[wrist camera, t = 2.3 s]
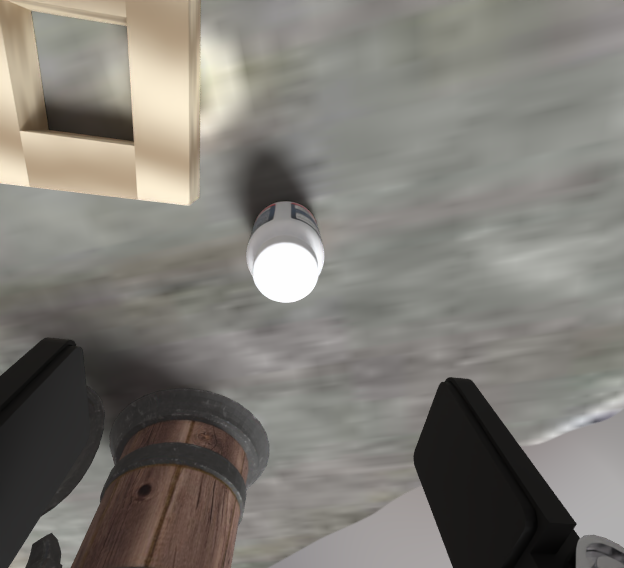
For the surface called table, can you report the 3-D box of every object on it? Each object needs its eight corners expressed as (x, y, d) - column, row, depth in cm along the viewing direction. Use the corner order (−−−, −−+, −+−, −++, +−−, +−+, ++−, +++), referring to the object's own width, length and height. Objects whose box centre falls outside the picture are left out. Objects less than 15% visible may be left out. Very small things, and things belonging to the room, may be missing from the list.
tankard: (300, 457, 40) (308, 734, 22) (190, 521, 44) (117, 806, 26) (139, 311, 32) (-65, 564, 14) (18, 405, 35) (-272, 706, 17)
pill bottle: (258, 264, 31) (245, 315, 22) (250, 202, 28) (233, 234, 20) (320, 259, 31) (330, 309, 23) (316, 198, 29) (326, 228, 20)
